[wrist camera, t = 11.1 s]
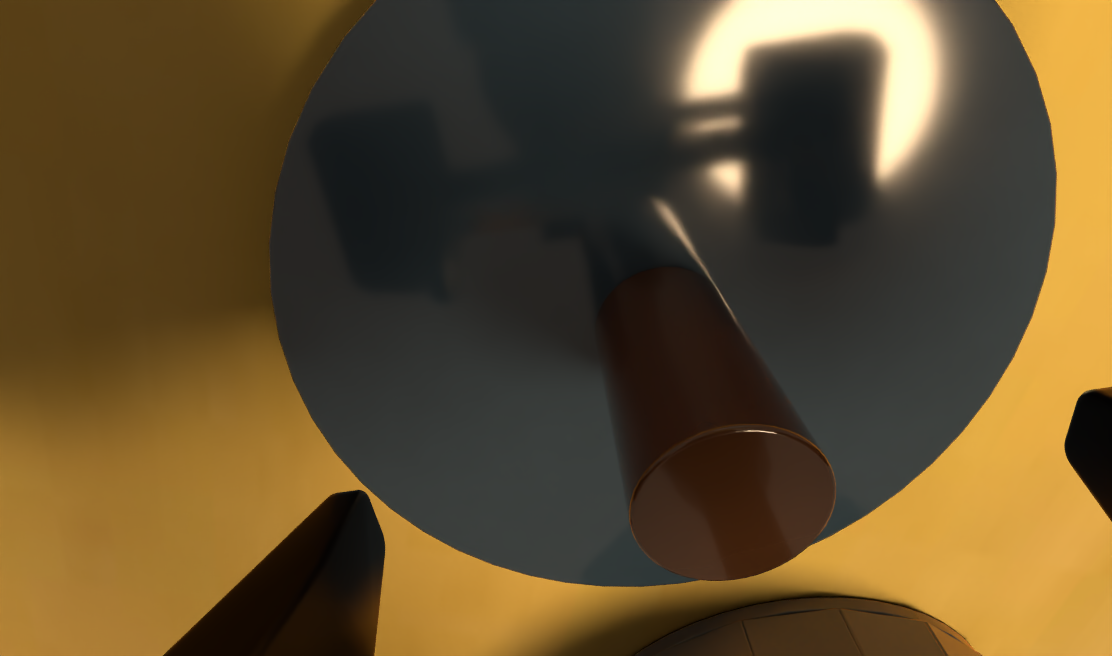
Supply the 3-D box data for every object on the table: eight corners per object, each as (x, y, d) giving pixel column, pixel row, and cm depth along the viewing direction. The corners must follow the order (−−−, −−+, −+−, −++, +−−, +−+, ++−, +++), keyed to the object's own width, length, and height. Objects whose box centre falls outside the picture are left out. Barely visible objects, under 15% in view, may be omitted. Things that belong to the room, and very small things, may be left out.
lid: (1158, 226, 12) (1615, 394, 7) (677, 621, 17) (738, 886, 12) (592, -403, 8) (710, -1162, 3) (173, 370, 12) (-62, 616, 8)
